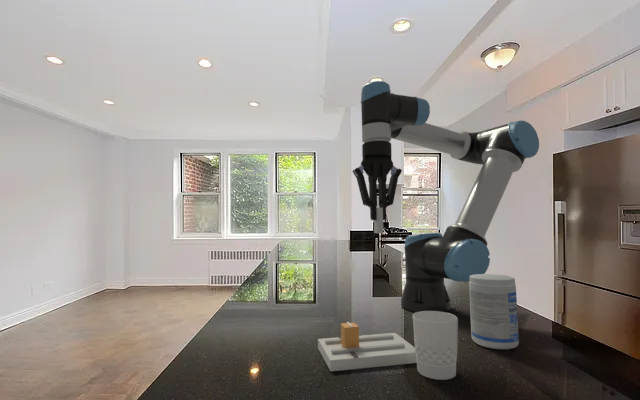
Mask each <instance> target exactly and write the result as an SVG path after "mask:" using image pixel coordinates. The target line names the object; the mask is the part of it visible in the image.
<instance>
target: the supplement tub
mask: <svg viewBox="0 0 640 400" xmlns="http://www.w3.org/2000/svg"><path fill="white" fill-rule="evenodd" d="M516 285H517V284H516V280H515V278H514V276H511V275H504V274H494V273H493V274H492V273H491V274H490V273H485V274H475V275H471V276H470V281H469V282H468V287H469V289H468V290H469V291H468V293H469V310H470V313H469V314H470V332H471V333H470V334H471V339H472V341H473V342H474V343H475V344H477V345H479V346H481V347H483V348H488V349H495V350H511V349H515V348H517V347H518V346H519V344H520V341H519V340H520V338H519V337H520V336H519V319H518V318H519V316H518V303H517V302H518V301H517V299H518V298H517V287H516Z"/></svg>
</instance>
